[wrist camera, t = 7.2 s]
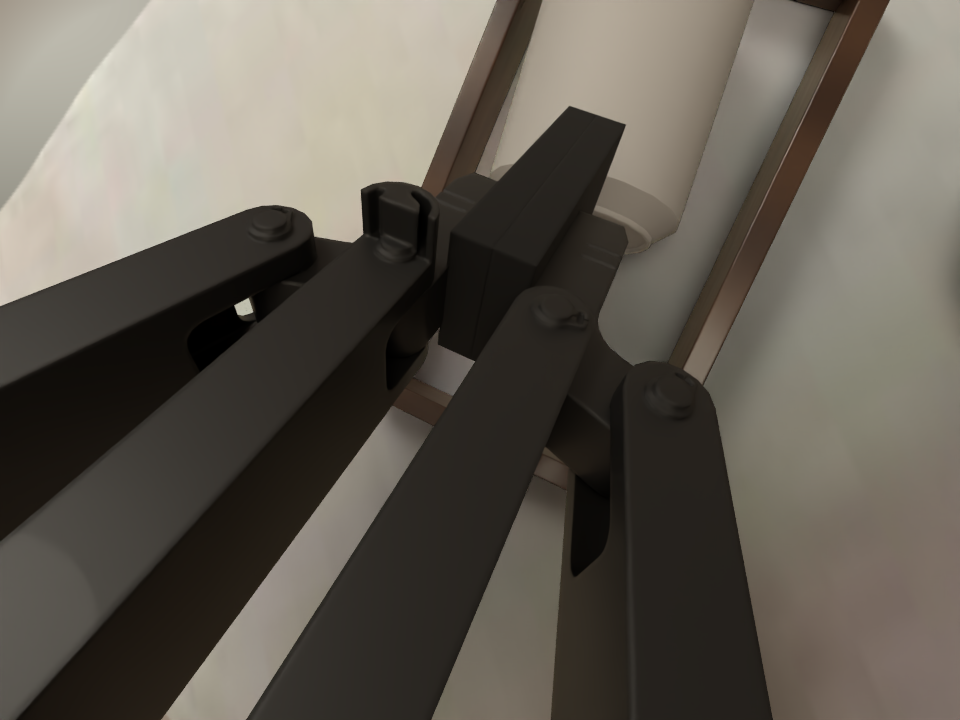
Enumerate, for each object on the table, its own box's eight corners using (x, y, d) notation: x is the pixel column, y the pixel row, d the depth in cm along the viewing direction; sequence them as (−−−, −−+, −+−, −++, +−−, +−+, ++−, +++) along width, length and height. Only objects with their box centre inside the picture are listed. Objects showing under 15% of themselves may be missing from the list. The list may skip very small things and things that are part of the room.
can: (453, 202, 19) (538, -86, 18) (584, 260, 23) (660, 21, 22) (553, 173, 13) (693, -275, 12) (715, 261, 16) (833, -81, 15)
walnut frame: (560, -86, 21) (558, -156, 18) (869, -5, 19) (924, -71, 16) (370, 378, 24) (341, 381, 21) (626, 501, 21) (636, 524, 18)
